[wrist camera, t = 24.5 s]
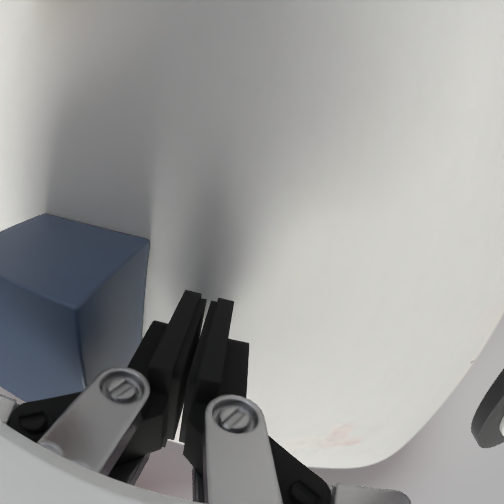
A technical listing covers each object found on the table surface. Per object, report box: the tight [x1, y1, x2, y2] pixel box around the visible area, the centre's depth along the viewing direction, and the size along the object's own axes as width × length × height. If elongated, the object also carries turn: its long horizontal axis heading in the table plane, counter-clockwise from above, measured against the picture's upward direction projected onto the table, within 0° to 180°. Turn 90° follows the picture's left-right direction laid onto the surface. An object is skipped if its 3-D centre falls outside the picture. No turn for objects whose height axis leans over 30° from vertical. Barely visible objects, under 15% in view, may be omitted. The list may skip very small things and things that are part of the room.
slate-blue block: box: [0, 214, 150, 402], centre depth 8 cm, size 5×5×5 cm
